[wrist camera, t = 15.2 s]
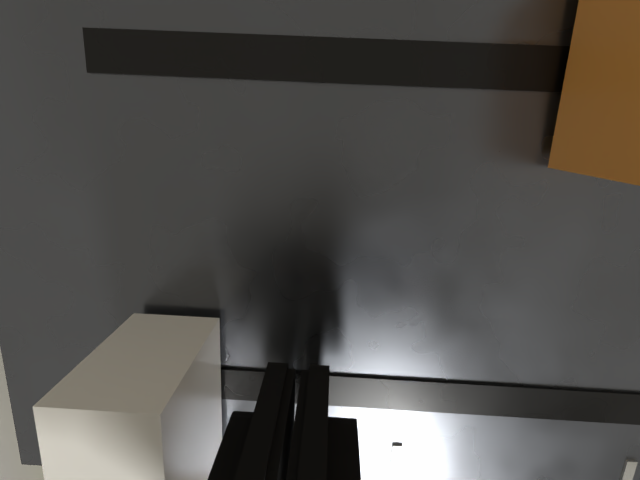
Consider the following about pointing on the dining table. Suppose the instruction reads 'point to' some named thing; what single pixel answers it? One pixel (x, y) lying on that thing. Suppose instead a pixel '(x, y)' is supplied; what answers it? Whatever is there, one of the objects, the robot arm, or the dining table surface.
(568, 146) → the orange fader
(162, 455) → the cream fader
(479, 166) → the console
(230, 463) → the robot arm
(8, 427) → the dining table surface
